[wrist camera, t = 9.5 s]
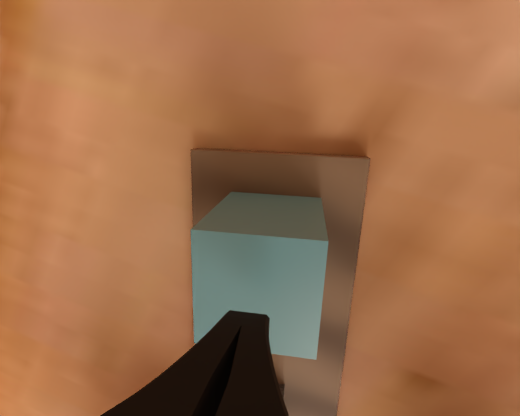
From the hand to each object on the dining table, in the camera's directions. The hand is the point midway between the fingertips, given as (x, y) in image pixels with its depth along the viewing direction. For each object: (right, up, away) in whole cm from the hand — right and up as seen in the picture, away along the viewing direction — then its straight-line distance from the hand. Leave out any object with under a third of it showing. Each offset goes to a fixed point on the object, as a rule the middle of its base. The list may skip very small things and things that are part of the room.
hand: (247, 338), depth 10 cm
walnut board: (+1, -3, +11) cm, 12 cm away
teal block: (+1, +3, +8) cm, 9 cm away
